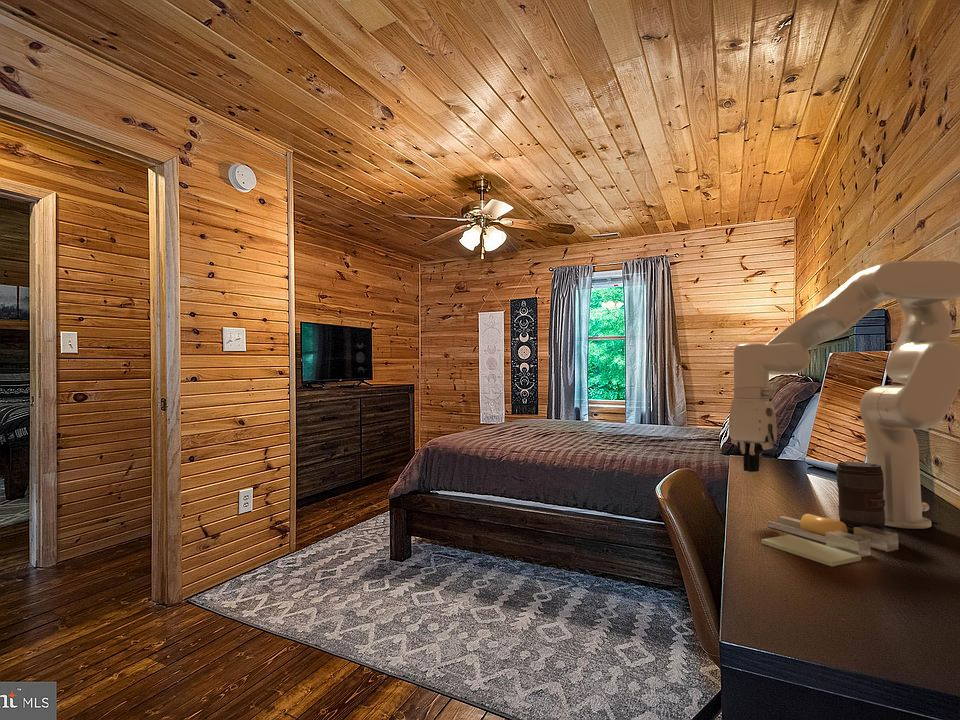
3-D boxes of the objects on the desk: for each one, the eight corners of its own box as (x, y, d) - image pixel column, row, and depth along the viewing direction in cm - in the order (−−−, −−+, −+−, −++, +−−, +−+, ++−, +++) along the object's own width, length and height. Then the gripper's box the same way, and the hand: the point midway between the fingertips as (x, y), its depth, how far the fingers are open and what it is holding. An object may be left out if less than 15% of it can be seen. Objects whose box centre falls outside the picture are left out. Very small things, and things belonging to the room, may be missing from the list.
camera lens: (879, 531, 109) (876, 462, 110) (891, 542, 102) (888, 467, 103) (835, 527, 113) (832, 460, 113) (843, 537, 105) (840, 465, 106)
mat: (789, 538, 105) (788, 534, 105) (861, 560, 92) (861, 555, 92) (761, 543, 102) (761, 539, 102) (832, 566, 89) (831, 561, 89)
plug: (787, 525, 114) (787, 506, 115) (847, 541, 102) (846, 520, 103) (774, 527, 113) (774, 508, 113) (834, 544, 101) (833, 523, 101)
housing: (795, 522, 117) (795, 509, 117) (898, 549, 97) (897, 533, 98) (758, 527, 112) (758, 514, 113) (858, 557, 93) (858, 541, 93)
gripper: (791, 395, 116) (791, 476, 115) (736, 393, 129) (736, 465, 129) (768, 395, 113) (768, 477, 112) (714, 393, 127) (714, 466, 126)
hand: (751, 470), depth 120 cm, fingers closed
